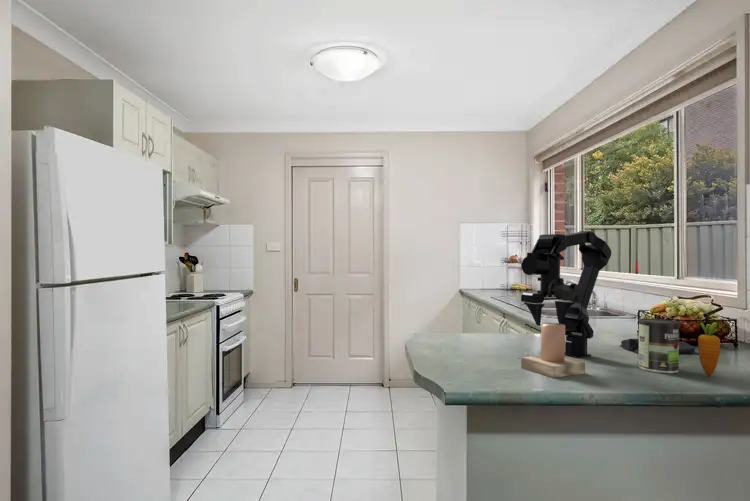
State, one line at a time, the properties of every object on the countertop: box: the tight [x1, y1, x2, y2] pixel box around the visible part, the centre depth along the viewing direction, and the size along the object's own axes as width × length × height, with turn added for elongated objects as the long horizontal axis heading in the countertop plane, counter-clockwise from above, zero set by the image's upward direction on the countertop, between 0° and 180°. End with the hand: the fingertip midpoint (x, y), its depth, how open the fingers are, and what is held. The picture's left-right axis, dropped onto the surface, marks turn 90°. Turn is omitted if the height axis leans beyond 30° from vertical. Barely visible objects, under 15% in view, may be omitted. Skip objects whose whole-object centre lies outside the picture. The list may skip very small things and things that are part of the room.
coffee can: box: [637, 318, 681, 374], centre depth 140 cm, size 10×10×14 cm
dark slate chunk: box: [619, 338, 696, 355], centre depth 168 cm, size 15×22×5 cm
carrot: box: [697, 321, 721, 377], centre depth 132 cm, size 5×5×15 cm
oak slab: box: [520, 354, 586, 379], centre depth 137 cm, size 12×12×3 cm
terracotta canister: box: [540, 322, 566, 363], centre depth 137 cm, size 6×6×10 cm
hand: (549, 324), depth 150 cm, fingers open, 9 cm apart
